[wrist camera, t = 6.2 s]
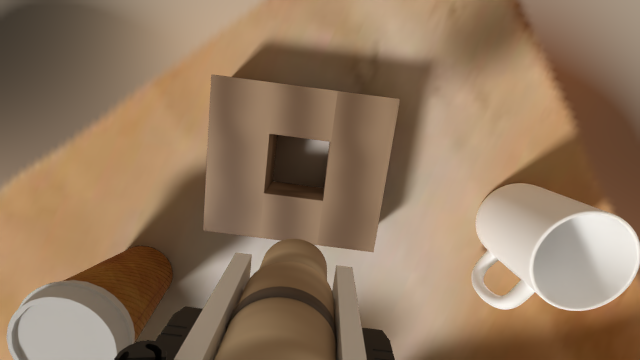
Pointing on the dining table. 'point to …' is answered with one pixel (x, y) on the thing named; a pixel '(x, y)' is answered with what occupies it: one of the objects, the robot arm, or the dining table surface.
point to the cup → (554, 249)
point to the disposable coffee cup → (91, 309)
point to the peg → (284, 309)
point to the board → (291, 199)
